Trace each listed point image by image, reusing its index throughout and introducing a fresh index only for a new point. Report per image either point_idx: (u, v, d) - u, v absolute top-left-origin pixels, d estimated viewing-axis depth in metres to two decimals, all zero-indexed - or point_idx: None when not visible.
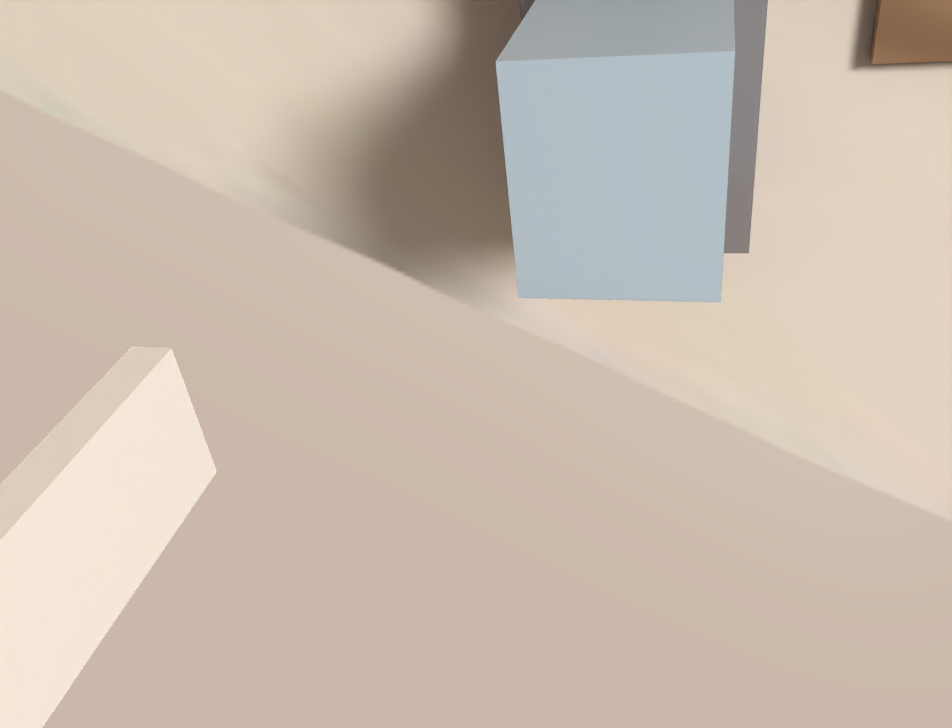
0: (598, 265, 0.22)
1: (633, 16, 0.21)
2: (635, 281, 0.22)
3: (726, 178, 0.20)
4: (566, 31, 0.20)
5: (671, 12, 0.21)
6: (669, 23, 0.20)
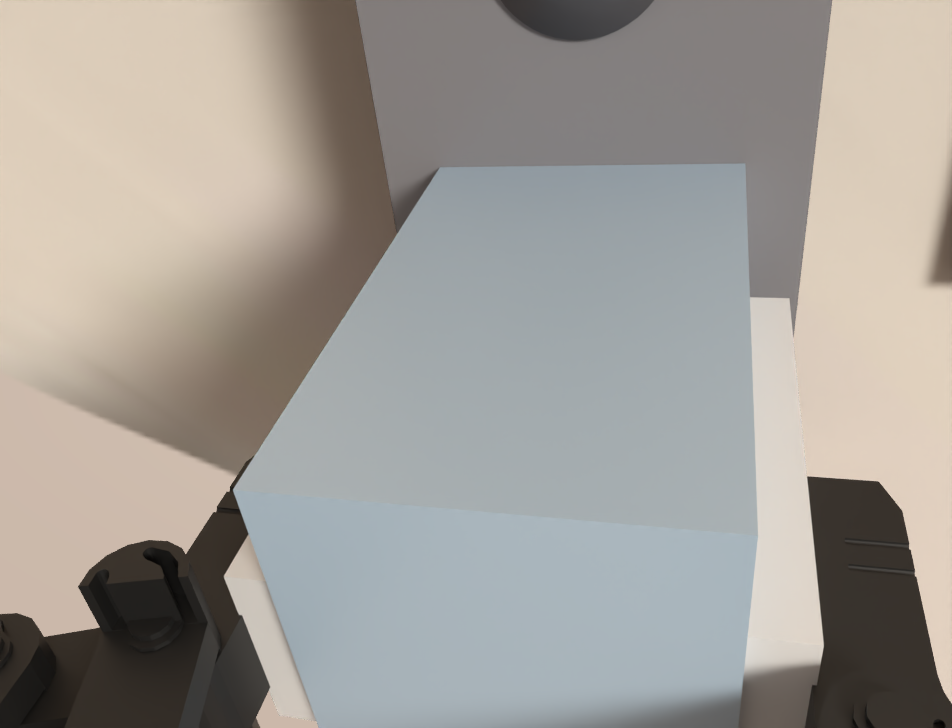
0: None
1: (551, 332, 0.10)
2: None
3: (735, 725, 0.09)
4: (410, 374, 0.10)
5: (625, 328, 0.10)
6: (618, 376, 0.10)
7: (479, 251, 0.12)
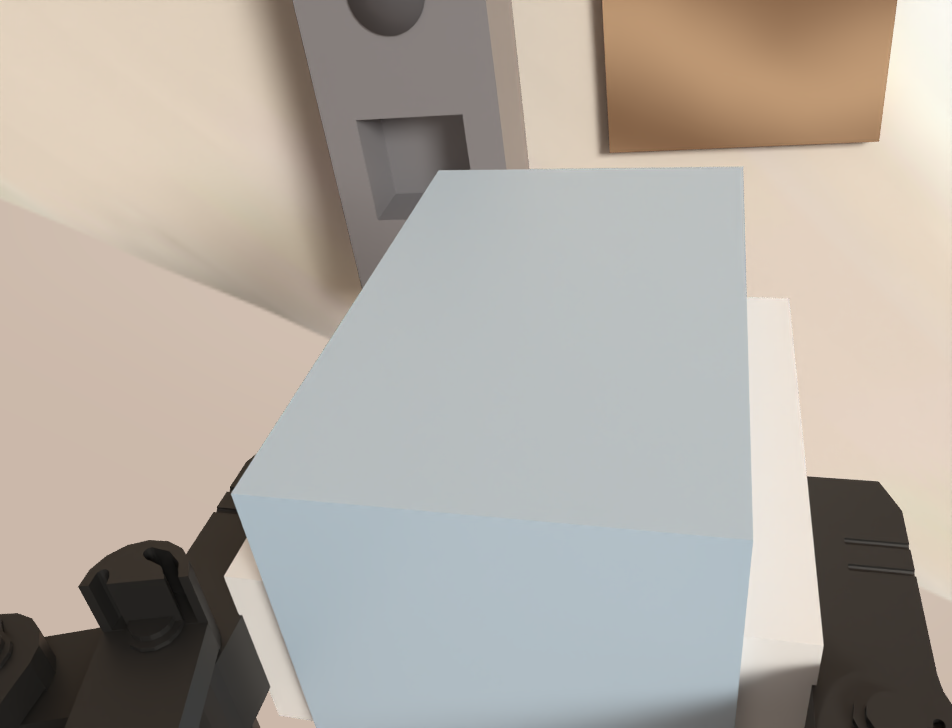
0: None
1: (548, 337, 0.11)
2: None
3: None
4: (408, 377, 0.10)
5: (622, 332, 0.10)
6: (614, 380, 0.10)
7: (478, 254, 0.12)
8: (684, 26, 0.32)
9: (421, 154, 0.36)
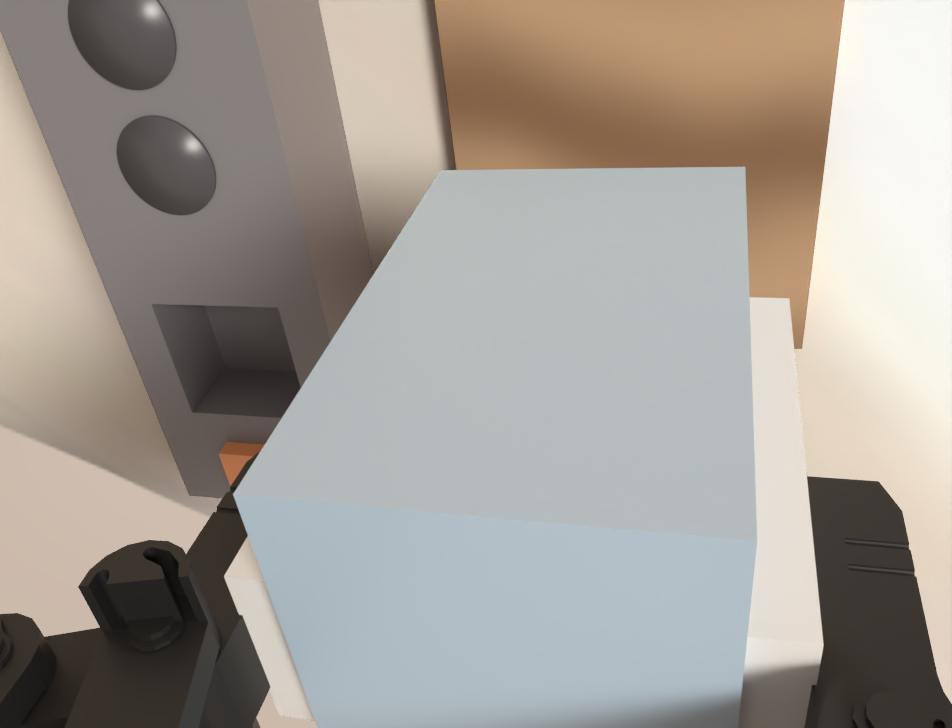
0: None
1: (551, 337, 0.10)
2: None
3: None
4: (410, 377, 0.10)
5: (625, 332, 0.10)
6: (617, 380, 0.10)
7: (480, 254, 0.12)
8: None
9: (251, 328, 0.30)
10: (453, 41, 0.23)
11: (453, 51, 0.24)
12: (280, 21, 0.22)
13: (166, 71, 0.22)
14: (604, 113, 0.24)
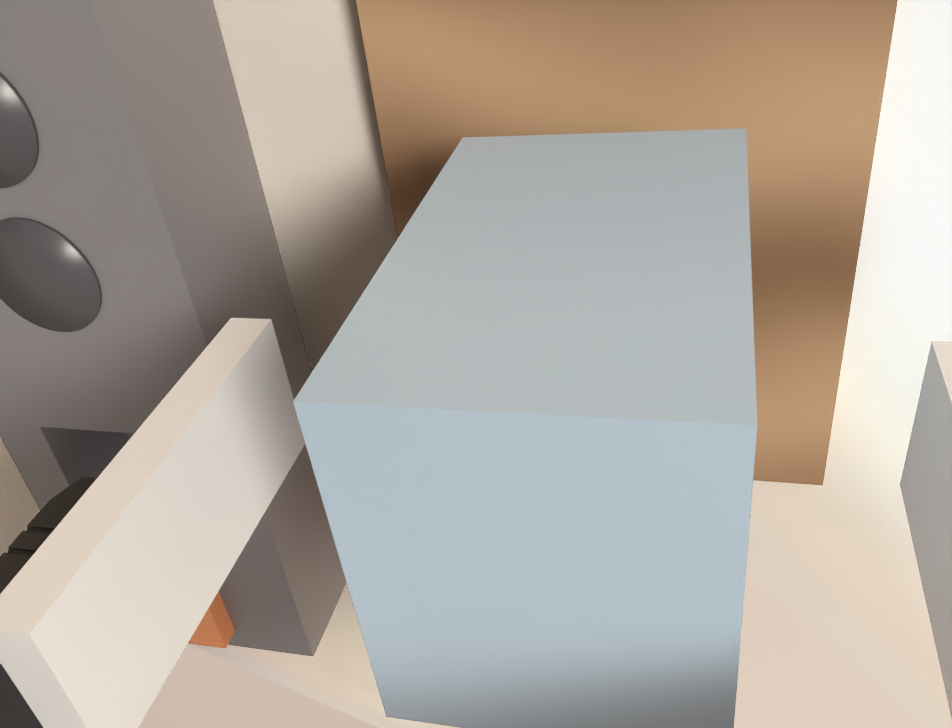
0: (514, 695, 0.12)
1: (570, 272, 0.12)
2: (579, 722, 0.12)
3: (739, 611, 0.10)
4: (446, 307, 0.11)
5: (638, 266, 0.12)
6: (632, 305, 0.11)
7: (502, 207, 0.14)
8: None
9: None
10: (394, 124, 0.19)
11: (395, 135, 0.19)
12: (173, 104, 0.18)
13: (28, 168, 0.17)
14: None
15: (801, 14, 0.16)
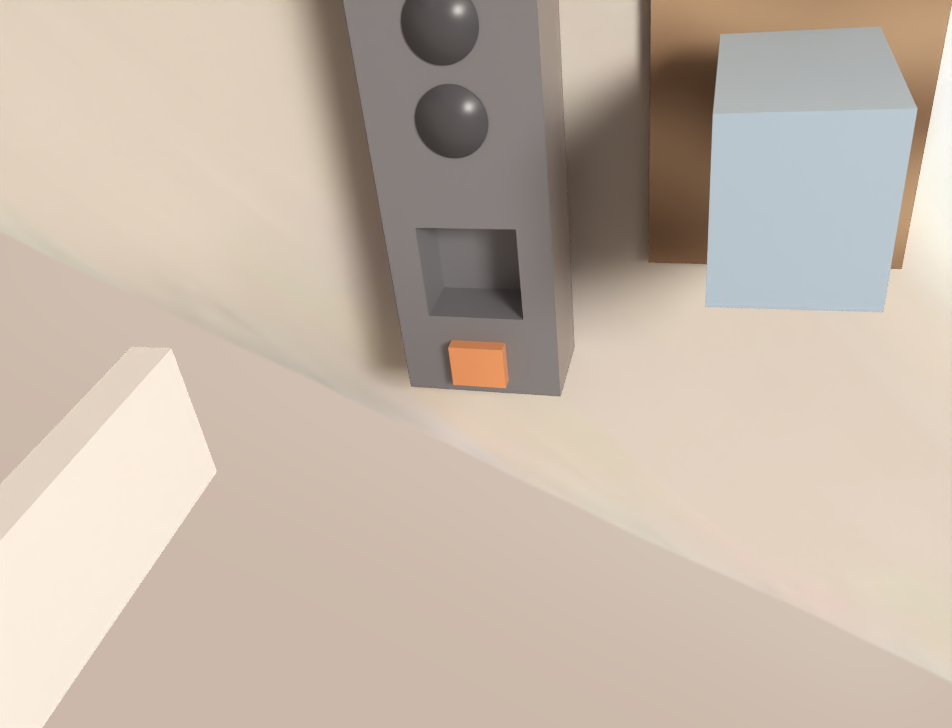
0: (779, 280, 0.26)
1: (814, 75, 0.25)
2: (810, 294, 0.26)
3: (899, 209, 0.24)
4: (761, 87, 0.25)
5: (846, 72, 0.25)
6: (849, 83, 0.24)
7: (764, 57, 0.27)
8: None
9: (471, 254, 0.39)
10: (661, 35, 0.33)
11: (660, 42, 0.33)
12: (546, 18, 0.31)
13: (467, 52, 0.31)
14: None
15: None
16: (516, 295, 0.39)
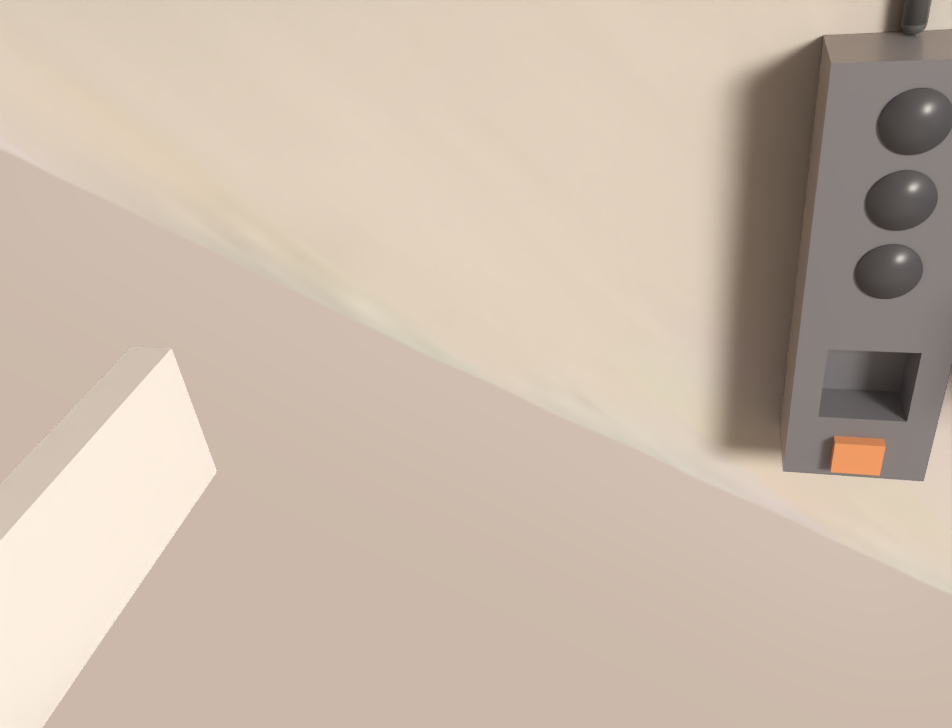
0: None
1: None
2: None
3: None
4: None
5: None
6: None
7: None
8: None
9: (848, 362, 0.46)
10: None
11: None
12: None
13: (920, 222, 0.38)
14: None
15: None
16: (886, 396, 0.46)
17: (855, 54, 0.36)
